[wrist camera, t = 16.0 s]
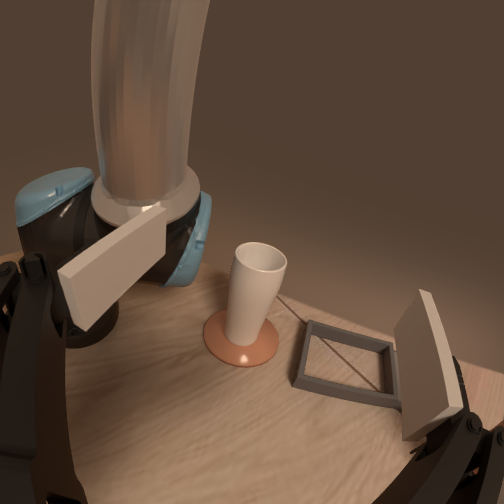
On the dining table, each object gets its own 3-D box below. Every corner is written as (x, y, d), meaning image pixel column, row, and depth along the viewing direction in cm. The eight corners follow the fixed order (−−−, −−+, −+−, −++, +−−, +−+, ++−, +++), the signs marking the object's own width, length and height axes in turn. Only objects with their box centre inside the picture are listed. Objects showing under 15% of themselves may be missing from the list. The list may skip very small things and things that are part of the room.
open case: (291, 386, 35) (297, 377, 34) (304, 329, 46) (308, 319, 45) (458, 414, 30) (467, 407, 29) (447, 365, 41) (454, 357, 40)
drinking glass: (268, 346, 40) (298, 269, 33) (228, 355, 37) (248, 275, 30) (250, 316, 45) (272, 240, 38) (213, 323, 42) (226, 242, 35)
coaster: (190, 349, 38) (190, 347, 37) (219, 302, 48) (220, 299, 48) (268, 377, 36) (268, 375, 36) (284, 324, 46) (285, 321, 46)
